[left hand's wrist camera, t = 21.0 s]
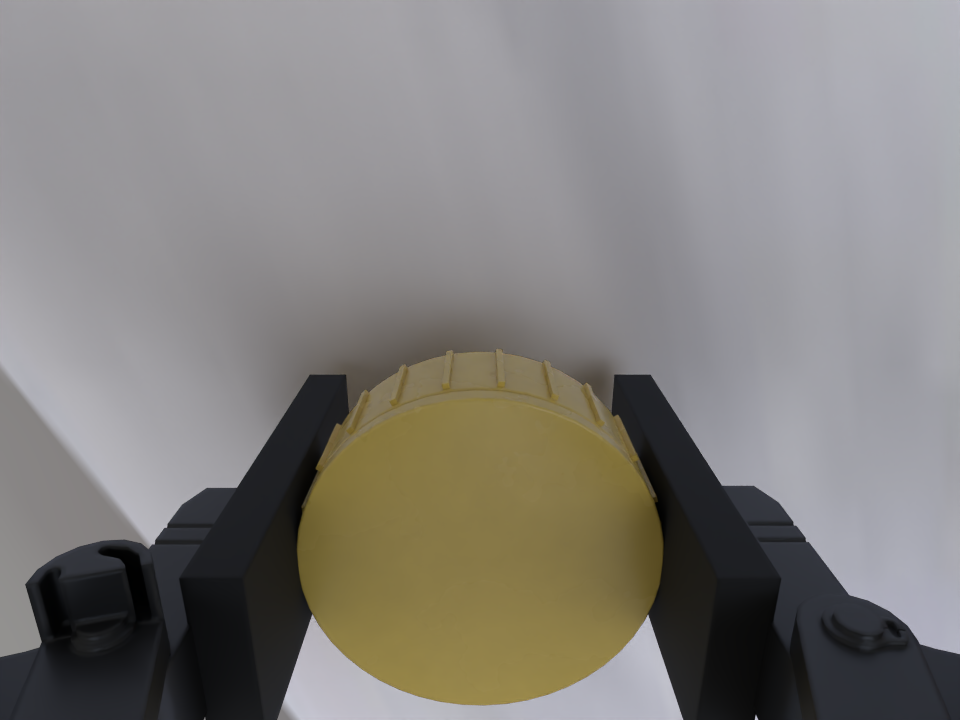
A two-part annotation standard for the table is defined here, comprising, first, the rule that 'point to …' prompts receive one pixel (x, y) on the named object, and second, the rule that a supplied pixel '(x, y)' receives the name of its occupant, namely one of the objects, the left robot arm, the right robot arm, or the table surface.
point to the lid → (480, 531)
